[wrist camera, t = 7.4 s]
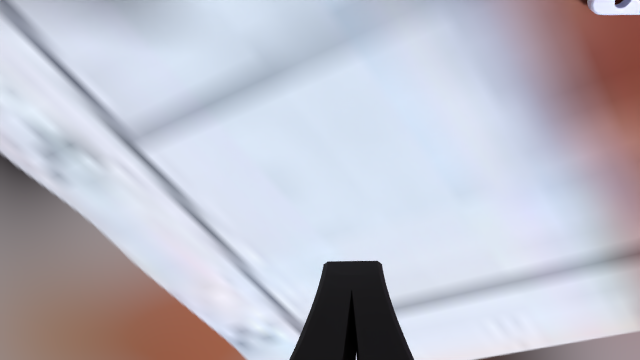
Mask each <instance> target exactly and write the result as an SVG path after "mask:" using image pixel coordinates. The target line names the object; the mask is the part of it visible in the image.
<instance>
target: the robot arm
mask: <svg viewBox="0 0 640 360" xmlns="http://www.w3.org/2000/svg"><path fill="white" fill-rule="evenodd" d="M587 4H588V7H589V9H590V10H591V11H593V12H594V13H596V14H599V15H640V0H623V1H622V2H621V3H619V4H616V5H615V0H588V2H587ZM356 354H357V360H414V358H413V356H412V354H411V352H410V349H409V347H408V345H407V342H406V340H405V337H404V335H403V332H402V330H401V327H400V325H399V322H398V320H397V317H396V314H395V312H394V309H393V306H392V303H391V300H390V297H389V293H388V290H387V286H386V283H385V278H384V274H383V268H382V264H381V263H380V262H378V261H338V262H327V263H325V264H324V266H323V271H322V275H321V279H320V283H319V286H318V290H317V293H316V296H315V299H314V302H313V304H312V307H311V310H310V313H309V315H308V318H307V320H306V323H305V325H304V328H303V330H302V333H301V335H300V337H299V340H298V342H297V345H296V347H295V349H294V351H293V353H292V355H291V357H290V360H356Z"/></svg>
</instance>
